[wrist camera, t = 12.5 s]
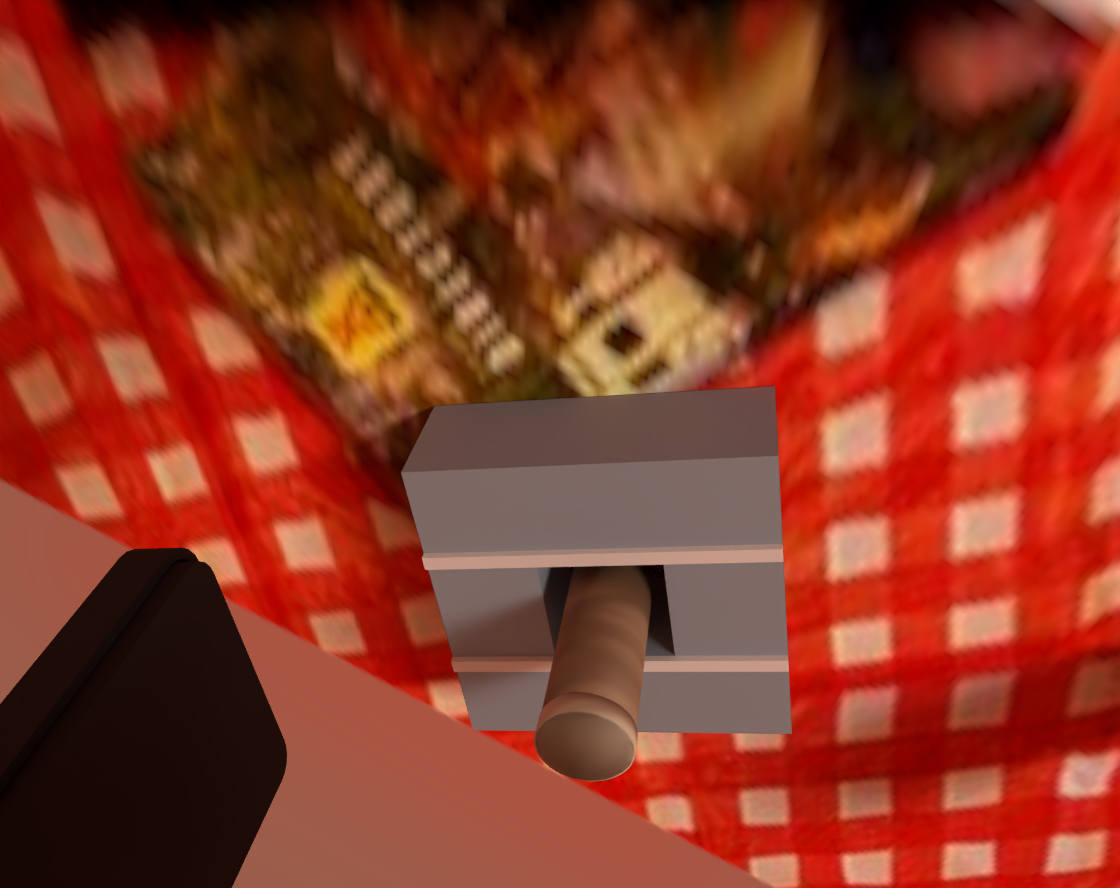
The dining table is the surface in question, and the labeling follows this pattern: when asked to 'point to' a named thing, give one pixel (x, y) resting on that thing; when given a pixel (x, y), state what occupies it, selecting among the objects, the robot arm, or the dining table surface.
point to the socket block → (611, 547)
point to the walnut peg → (597, 673)
